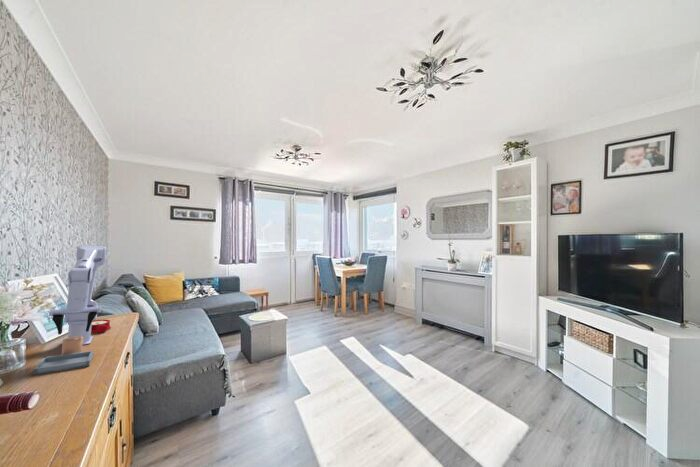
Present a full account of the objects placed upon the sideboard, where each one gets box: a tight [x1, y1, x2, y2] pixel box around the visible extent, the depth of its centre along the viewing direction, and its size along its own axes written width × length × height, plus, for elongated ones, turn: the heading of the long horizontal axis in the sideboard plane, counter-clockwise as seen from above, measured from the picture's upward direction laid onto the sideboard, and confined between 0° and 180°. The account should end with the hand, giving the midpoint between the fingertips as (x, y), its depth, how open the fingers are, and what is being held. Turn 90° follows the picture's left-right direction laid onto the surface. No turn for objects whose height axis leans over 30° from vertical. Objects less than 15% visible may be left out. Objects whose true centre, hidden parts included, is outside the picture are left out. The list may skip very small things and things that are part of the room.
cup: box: [60, 336, 83, 355], centre depth 105 cm, size 6×6×7 cm
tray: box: [32, 350, 95, 376], centre depth 98 cm, size 11×14×2 cm
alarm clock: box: [91, 319, 112, 334], centre depth 132 cm, size 10×6×15 cm
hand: (74, 332), depth 106 cm, fingers open, 7 cm apart
